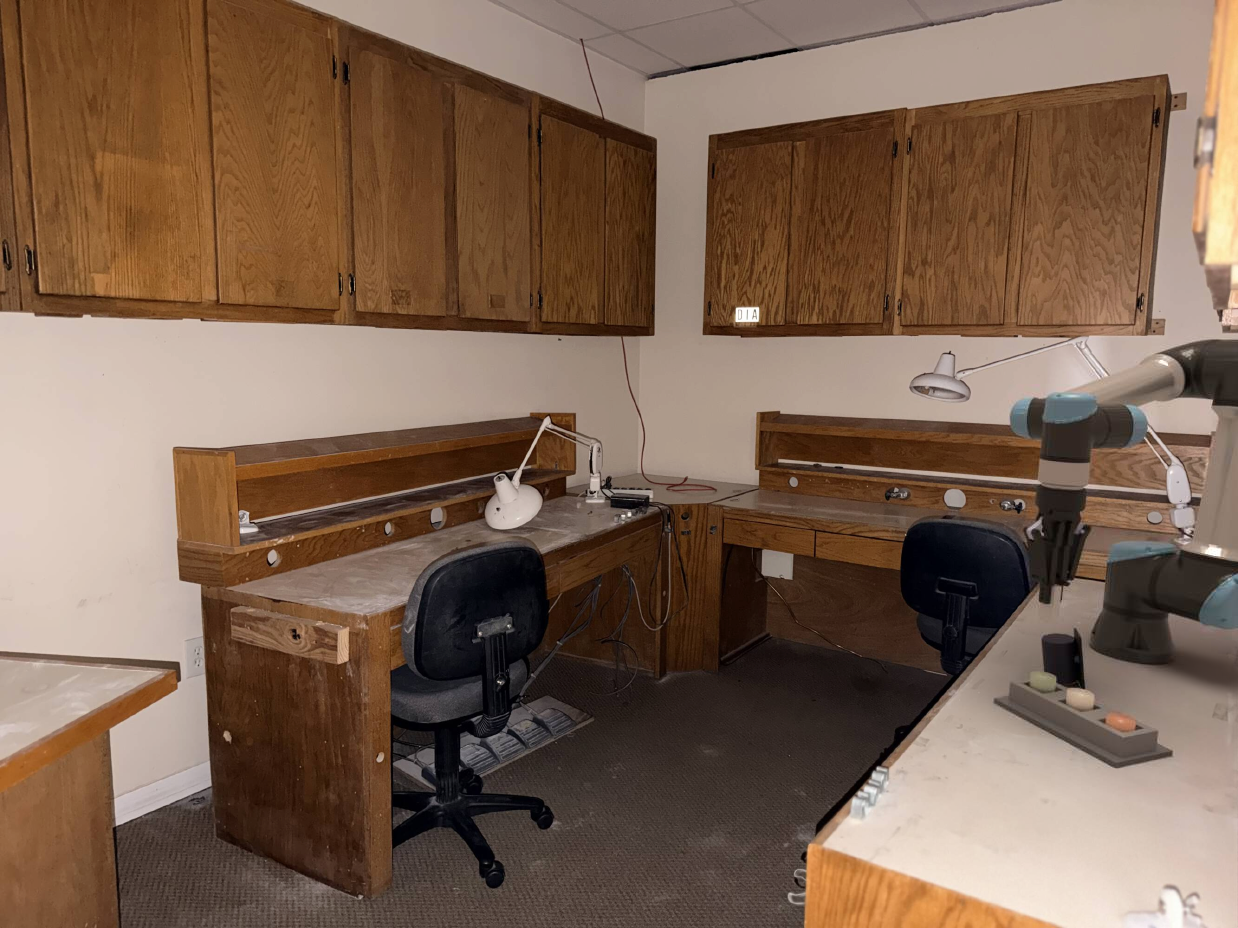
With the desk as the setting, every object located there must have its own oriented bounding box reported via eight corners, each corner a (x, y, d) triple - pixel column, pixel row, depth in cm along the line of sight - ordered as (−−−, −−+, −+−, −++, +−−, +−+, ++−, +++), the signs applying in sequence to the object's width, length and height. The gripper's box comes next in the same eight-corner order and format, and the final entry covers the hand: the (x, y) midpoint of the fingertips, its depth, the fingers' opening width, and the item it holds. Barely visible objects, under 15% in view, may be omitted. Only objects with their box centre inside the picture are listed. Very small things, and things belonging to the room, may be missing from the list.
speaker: (1091, 681, 157) (1090, 628, 156) (1085, 692, 152) (1083, 637, 151) (1047, 674, 162) (1045, 623, 160) (1039, 685, 157) (1038, 632, 156)
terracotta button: (1098, 735, 132) (1100, 714, 132) (1116, 731, 134) (1118, 711, 133) (1120, 747, 129) (1123, 725, 128) (1139, 743, 130) (1142, 722, 130)
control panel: (993, 702, 148) (995, 680, 147) (1045, 693, 152) (1047, 672, 151) (1115, 767, 125) (1118, 742, 125) (1172, 755, 129) (1175, 731, 129)
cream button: (1059, 709, 139) (1061, 689, 139) (1077, 706, 141) (1079, 686, 140) (1079, 719, 136) (1082, 699, 135) (1098, 716, 137) (1100, 696, 136)
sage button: (1023, 691, 146) (1025, 672, 146) (1041, 688, 148) (1042, 669, 147) (1042, 700, 142) (1044, 681, 142) (1060, 697, 144) (1061, 678, 143)
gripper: (1072, 480, 145) (1058, 611, 149) (1014, 483, 141) (1001, 617, 144) (1110, 487, 138) (1095, 624, 142) (1050, 490, 134) (1036, 632, 137)
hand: (1048, 621), depth 143 cm, fingers closed
